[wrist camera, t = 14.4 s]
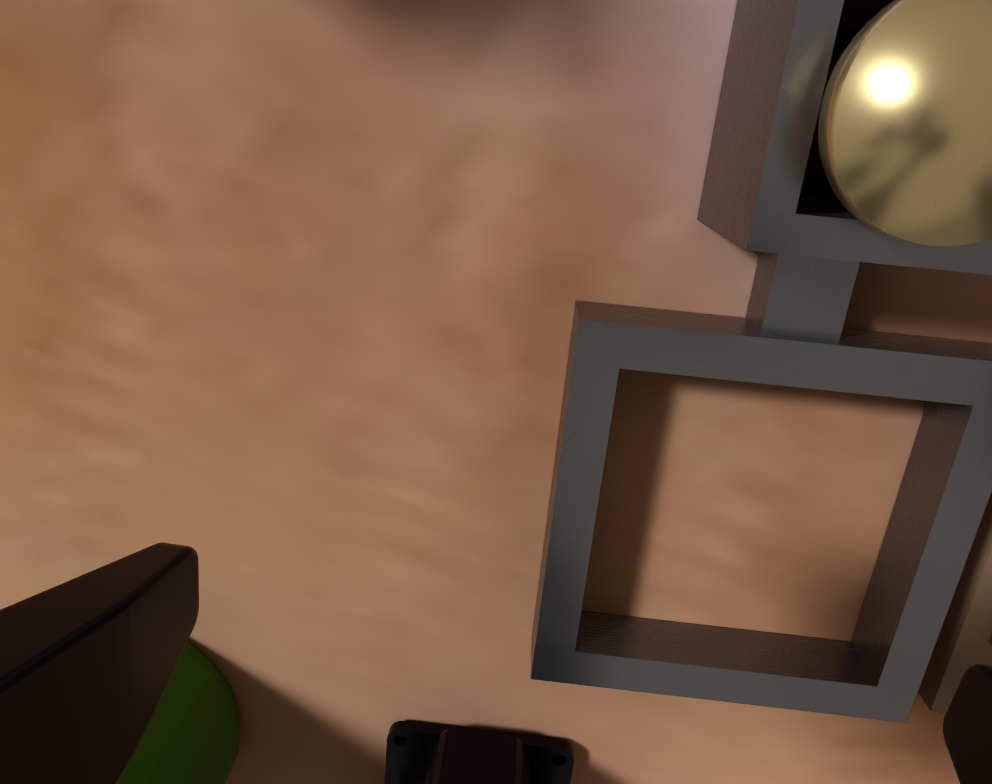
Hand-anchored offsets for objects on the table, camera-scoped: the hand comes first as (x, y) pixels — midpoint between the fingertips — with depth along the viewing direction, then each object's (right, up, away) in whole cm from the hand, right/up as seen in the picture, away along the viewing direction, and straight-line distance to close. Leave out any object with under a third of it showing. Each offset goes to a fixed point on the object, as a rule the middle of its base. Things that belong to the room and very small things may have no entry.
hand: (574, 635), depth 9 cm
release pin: (+7, +10, +9) cm, 15 cm away
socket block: (+7, +3, +12) cm, 14 cm away
